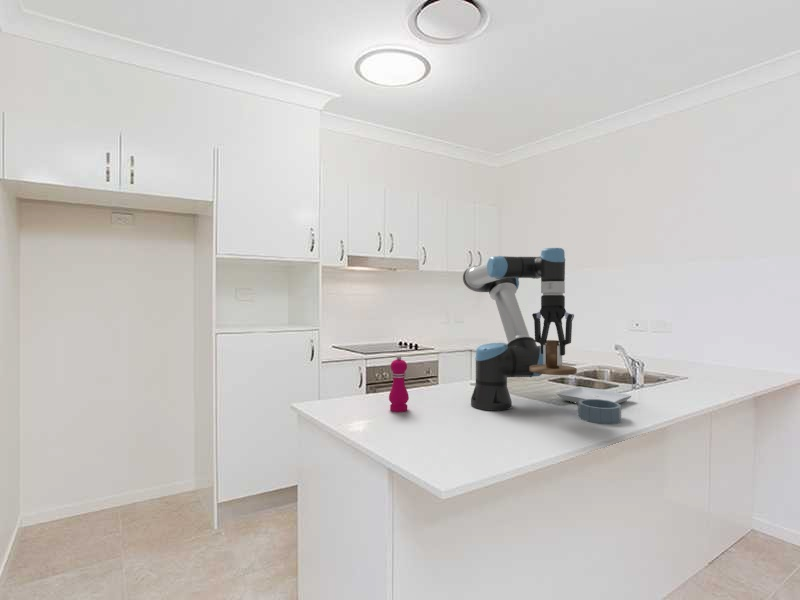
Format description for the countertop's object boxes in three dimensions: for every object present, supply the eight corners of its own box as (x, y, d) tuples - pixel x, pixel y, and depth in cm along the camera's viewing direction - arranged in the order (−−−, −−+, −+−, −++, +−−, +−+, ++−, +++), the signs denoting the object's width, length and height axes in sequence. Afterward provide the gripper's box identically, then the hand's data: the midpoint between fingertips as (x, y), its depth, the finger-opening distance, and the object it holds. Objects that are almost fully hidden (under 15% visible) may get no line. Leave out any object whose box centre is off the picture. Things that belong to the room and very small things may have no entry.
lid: (522, 371, 151) (522, 341, 151) (539, 366, 162) (539, 337, 162) (567, 376, 141) (567, 344, 141) (582, 370, 153) (582, 340, 153)
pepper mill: (396, 406, 171) (396, 353, 170) (412, 409, 167) (412, 354, 166) (384, 410, 165) (384, 355, 165) (401, 413, 161) (401, 357, 160)
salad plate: (632, 402, 178) (632, 394, 178) (610, 412, 164) (610, 403, 164) (580, 393, 194) (580, 385, 194) (555, 401, 179) (555, 393, 179)
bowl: (574, 419, 154) (574, 404, 153) (584, 411, 164) (584, 397, 164) (616, 426, 146) (616, 410, 146) (623, 417, 157) (623, 402, 157)
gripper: (523, 294, 154) (523, 363, 154) (575, 294, 144) (575, 368, 144) (532, 294, 160) (532, 361, 160) (582, 294, 149) (582, 365, 150)
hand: (552, 364), depth 152 cm, fingers closed on lid, 4 cm apart
